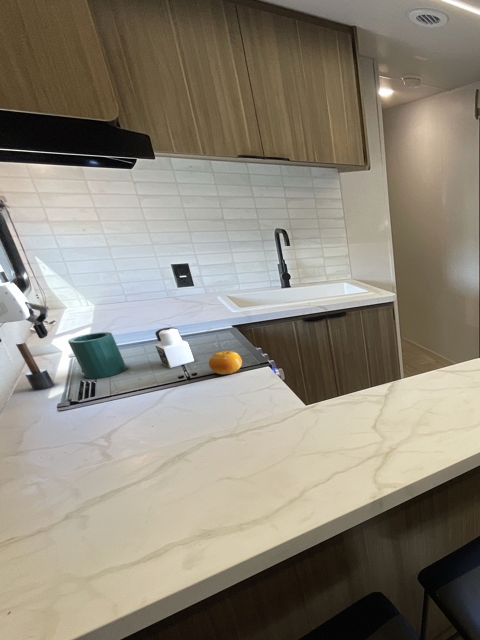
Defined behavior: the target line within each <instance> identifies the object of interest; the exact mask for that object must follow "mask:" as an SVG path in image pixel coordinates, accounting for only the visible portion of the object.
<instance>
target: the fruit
mask: <svg viewBox="0 0 480 640" xmlns="http://www.w3.org/2000/svg"><path fill="white" fill-rule="evenodd" d="M242 364H243V360H242V357H241V356H240V354H239V353H237V352H235V351H230V350H224V351H218V352H215V353H214V354H212V355H211V356H210V358H209V360H208V366H209V368H210V370H211V371H212V372H214V373H215V374H218V375H231V374H234V373H236V372H238V370H240V369H241V367H242Z"/></svg>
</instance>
